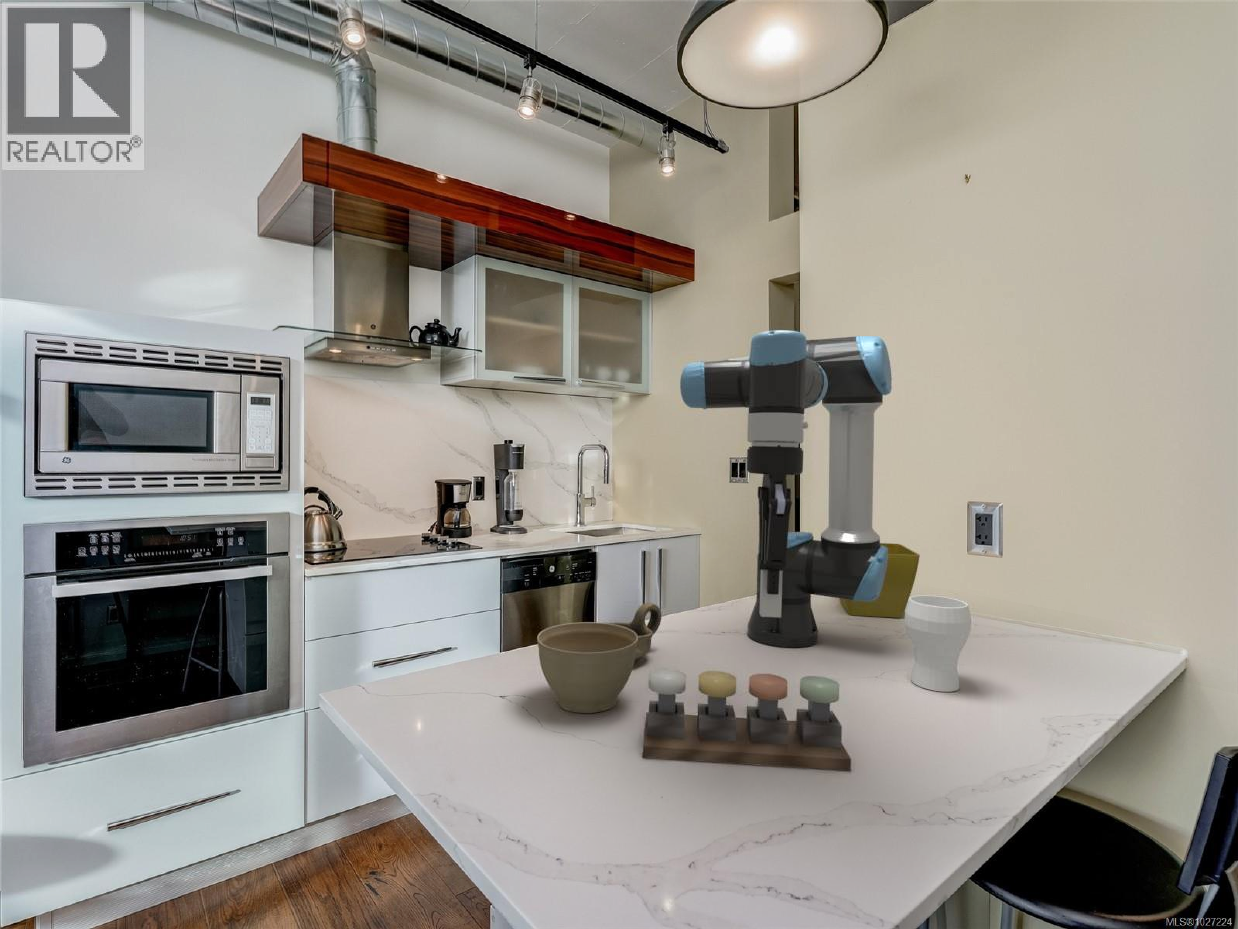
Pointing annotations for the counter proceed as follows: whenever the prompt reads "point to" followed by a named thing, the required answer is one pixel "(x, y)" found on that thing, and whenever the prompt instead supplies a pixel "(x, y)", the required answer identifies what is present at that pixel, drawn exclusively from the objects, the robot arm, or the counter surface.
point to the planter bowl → (587, 663)
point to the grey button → (667, 687)
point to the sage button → (819, 696)
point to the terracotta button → (767, 693)
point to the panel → (744, 738)
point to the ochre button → (717, 690)
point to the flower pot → (890, 585)
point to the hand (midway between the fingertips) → (770, 615)
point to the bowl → (644, 627)
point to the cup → (937, 639)
